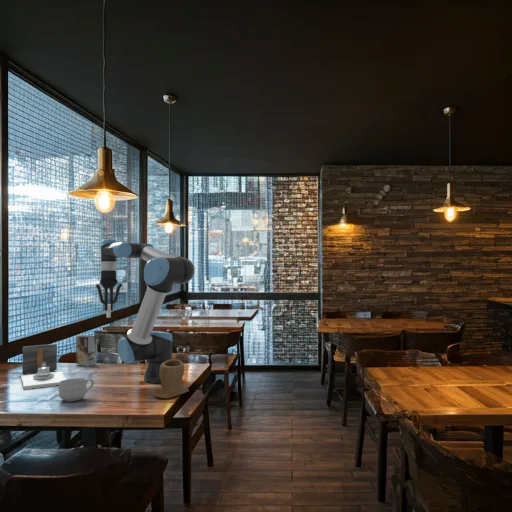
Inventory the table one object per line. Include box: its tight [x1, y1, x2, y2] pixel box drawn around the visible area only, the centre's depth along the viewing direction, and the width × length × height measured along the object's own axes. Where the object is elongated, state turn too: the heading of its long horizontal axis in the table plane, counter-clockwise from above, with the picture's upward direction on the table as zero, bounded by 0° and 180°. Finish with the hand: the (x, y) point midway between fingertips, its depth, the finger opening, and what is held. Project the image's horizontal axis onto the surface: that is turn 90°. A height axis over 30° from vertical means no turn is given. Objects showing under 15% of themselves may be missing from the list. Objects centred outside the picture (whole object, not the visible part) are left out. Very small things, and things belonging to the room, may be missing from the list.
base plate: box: [20, 371, 67, 390], centre depth 217 cm, size 25×18×2 cm
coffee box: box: [75, 334, 97, 367], centre depth 255 cm, size 9×6×16 cm
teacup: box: [58, 377, 95, 403], centre depth 186 cm, size 14×11×8 cm
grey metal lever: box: [33, 362, 54, 379], centre depth 222 cm, size 19×9×5 cm, turn 25°
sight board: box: [21, 343, 58, 375], centre depth 235 cm, size 2×16×14 cm, turn 120°
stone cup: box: [153, 358, 190, 399], centre depth 191 cm, size 15×12×15 cm
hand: (108, 317), depth 227 cm, fingers closed
